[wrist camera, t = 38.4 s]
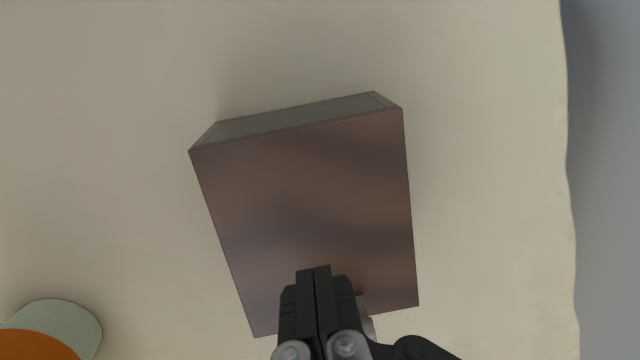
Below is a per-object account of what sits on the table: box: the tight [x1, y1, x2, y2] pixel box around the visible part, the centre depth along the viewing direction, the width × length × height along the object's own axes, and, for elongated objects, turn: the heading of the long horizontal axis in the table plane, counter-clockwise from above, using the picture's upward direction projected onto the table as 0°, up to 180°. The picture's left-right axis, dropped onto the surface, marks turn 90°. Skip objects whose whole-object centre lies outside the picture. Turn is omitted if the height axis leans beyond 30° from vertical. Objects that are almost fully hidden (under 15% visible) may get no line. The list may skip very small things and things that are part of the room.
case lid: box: [188, 106, 419, 342], centre depth 24 cm, size 17×15×5 cm
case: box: [191, 91, 398, 147], centre depth 30 cm, size 17×15×8 cm
